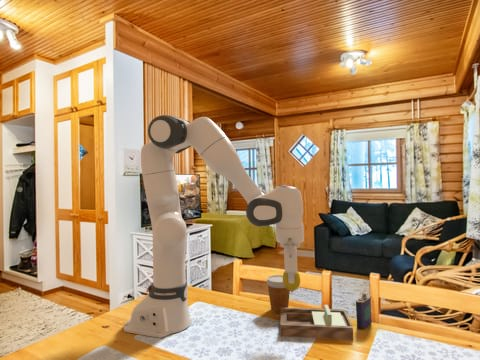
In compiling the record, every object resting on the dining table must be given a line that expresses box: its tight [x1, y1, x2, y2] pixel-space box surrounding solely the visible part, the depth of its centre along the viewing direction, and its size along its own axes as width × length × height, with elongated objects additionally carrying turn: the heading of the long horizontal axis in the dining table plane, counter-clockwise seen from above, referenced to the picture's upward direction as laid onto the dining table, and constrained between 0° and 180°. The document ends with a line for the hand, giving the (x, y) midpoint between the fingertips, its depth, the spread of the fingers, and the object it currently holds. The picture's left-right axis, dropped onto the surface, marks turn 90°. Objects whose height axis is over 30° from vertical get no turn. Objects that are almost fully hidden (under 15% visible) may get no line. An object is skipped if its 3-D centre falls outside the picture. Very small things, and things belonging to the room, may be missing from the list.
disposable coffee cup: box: [265, 274, 291, 315], centre depth 115 cm, size 10×10×12 cm
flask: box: [355, 292, 372, 331], centre depth 102 cm, size 9×3×11 cm, turn 138°
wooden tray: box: [279, 307, 354, 341], centre depth 101 cm, size 22×14×4 cm, turn 82°
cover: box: [312, 304, 346, 326], centre depth 100 cm, size 10×10×4 cm
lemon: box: [282, 270, 301, 293], centre depth 97 cm, size 6×6×8 cm
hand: (291, 279), depth 97 cm, fingers closed on lemon, 5 cm apart
